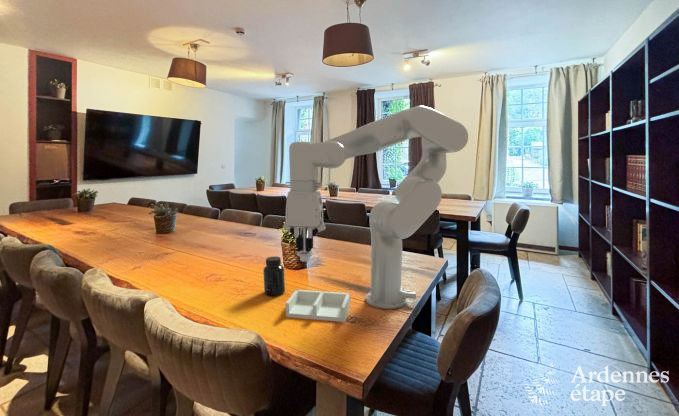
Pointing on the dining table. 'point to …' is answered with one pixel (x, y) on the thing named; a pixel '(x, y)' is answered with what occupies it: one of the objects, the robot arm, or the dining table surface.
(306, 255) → the screw
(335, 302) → the rack
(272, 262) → the supplement bottle
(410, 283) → the dining table surface
